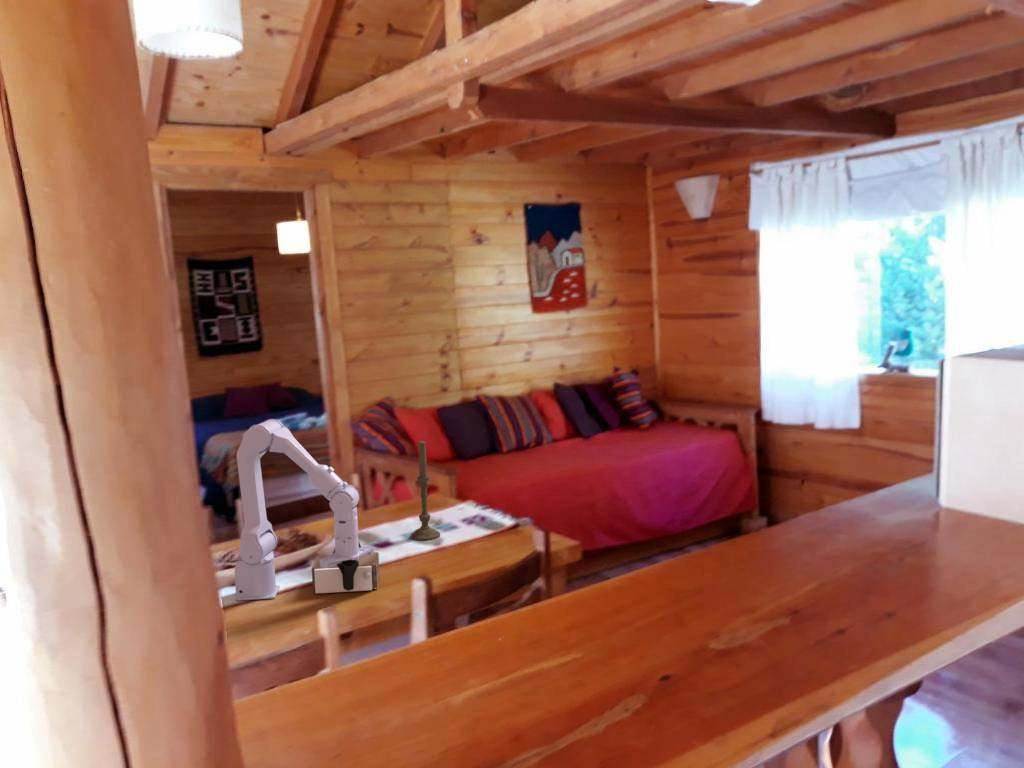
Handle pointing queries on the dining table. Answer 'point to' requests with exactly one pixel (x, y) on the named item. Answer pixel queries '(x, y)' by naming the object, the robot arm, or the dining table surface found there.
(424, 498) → the candlestick holder
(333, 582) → the door
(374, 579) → the cabinet
